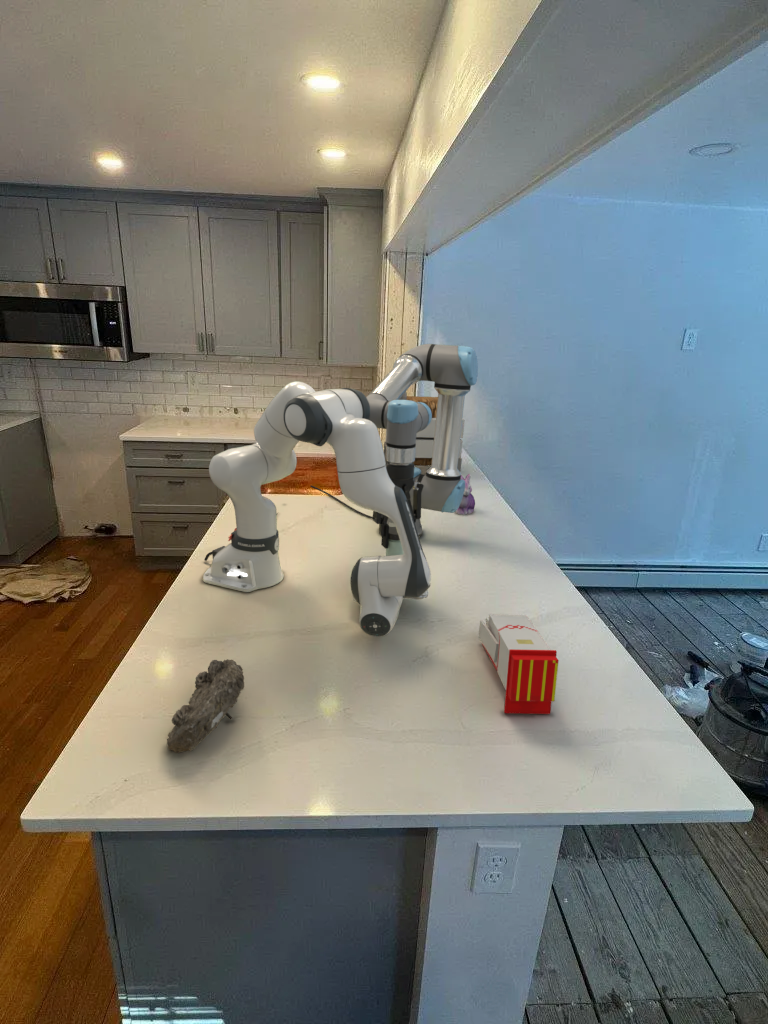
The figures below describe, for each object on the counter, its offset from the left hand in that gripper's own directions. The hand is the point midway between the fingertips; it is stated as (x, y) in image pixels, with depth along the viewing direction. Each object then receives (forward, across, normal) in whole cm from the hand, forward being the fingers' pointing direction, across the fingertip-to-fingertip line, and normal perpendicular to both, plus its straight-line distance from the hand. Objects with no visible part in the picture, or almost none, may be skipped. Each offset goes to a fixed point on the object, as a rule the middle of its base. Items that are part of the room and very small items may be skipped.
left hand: (394, 570), depth 157 cm
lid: (-1, 0, -12) cm, 12 cm away
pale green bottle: (-1, 0, +7) cm, 7 cm away
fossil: (-58, +26, +7) cm, 64 cm away
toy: (-31, -31, +7) cm, 44 cm away
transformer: (+124, +6, +7) cm, 124 cm away
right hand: (-1, 0, -8) cm, 8 cm away
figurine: (+74, -17, +7) cm, 76 cm away
